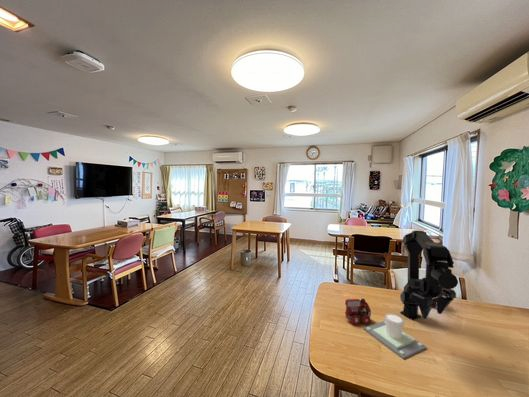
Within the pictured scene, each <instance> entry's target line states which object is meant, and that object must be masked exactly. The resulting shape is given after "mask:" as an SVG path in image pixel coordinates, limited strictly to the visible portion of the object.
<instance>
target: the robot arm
mask: <svg viewBox="0 0 529 397" xmlns="http://www.w3.org/2000/svg"><path fill="white" fill-rule="evenodd" d="M402 245H403V248H404V250H405V251H406V252H407V283H406V284H405V285H404V286H403V290H402V292H401V293H400V302H401V303H402V305H403V310H402V311H400V314H402V315H403V316H405V317H407V318H409V319H410V320H413V321H414V320H417V319H419V318H422V319H425V320H427V318H428V317H429V315H430V312H431V310H432V309H433V308H432V307H433V305H432V303H433V299H434V298H436V299H437V303H436V311H437V312H436V313H437V314H439V315H442V313H444V311H445V310H446V309H447V307H448V306H449V305H450V303H452V302H453V301H454V299H455V298H457V293H456V291H455V290H454V289H455V288H456V287H457V286H458V283H459V280H458V278H457V276H456V275H455V274H453V273H452V269H454V264H455V263H454V260H453V257H452V254H451V252H450V250H449V249H448V247H447V246H445V245H443V244H441V243H440V244H439V243H437V242H435V241H434V240H433V239H432V238H431V237H430V236H428V234H427V231H424V230H413V231H411V232H410V233H407V234H405V235H404V236H403V238H402ZM421 253H422V255H423V257H424V259H425V261H424V262H425V263H426V264H425V276H424V277H422V278H420V254H421ZM424 291H425V293H427V294H424ZM419 311H420V314H421V315H420V314H419Z"/></svg>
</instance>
